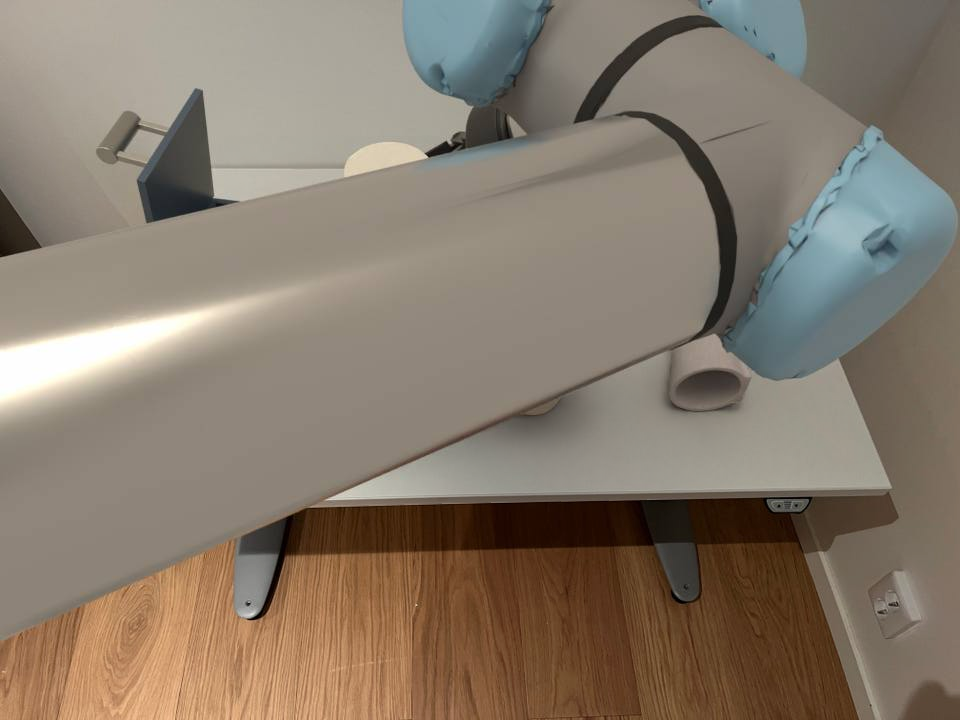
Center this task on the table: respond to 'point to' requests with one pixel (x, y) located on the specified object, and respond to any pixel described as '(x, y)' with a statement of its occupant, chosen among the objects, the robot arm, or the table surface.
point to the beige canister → (381, 157)
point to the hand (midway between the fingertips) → (370, 219)
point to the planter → (707, 375)
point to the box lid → (167, 161)
